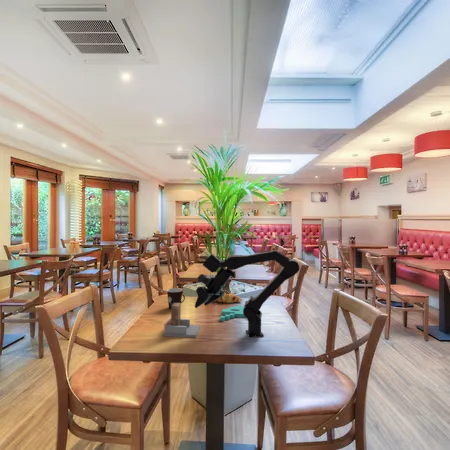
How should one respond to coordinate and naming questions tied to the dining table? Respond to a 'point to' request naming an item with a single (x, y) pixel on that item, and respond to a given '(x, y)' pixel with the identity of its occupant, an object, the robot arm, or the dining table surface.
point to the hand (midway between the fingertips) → (200, 306)
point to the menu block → (175, 314)
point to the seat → (180, 329)
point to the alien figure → (232, 313)
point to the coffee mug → (174, 296)
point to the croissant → (229, 298)
